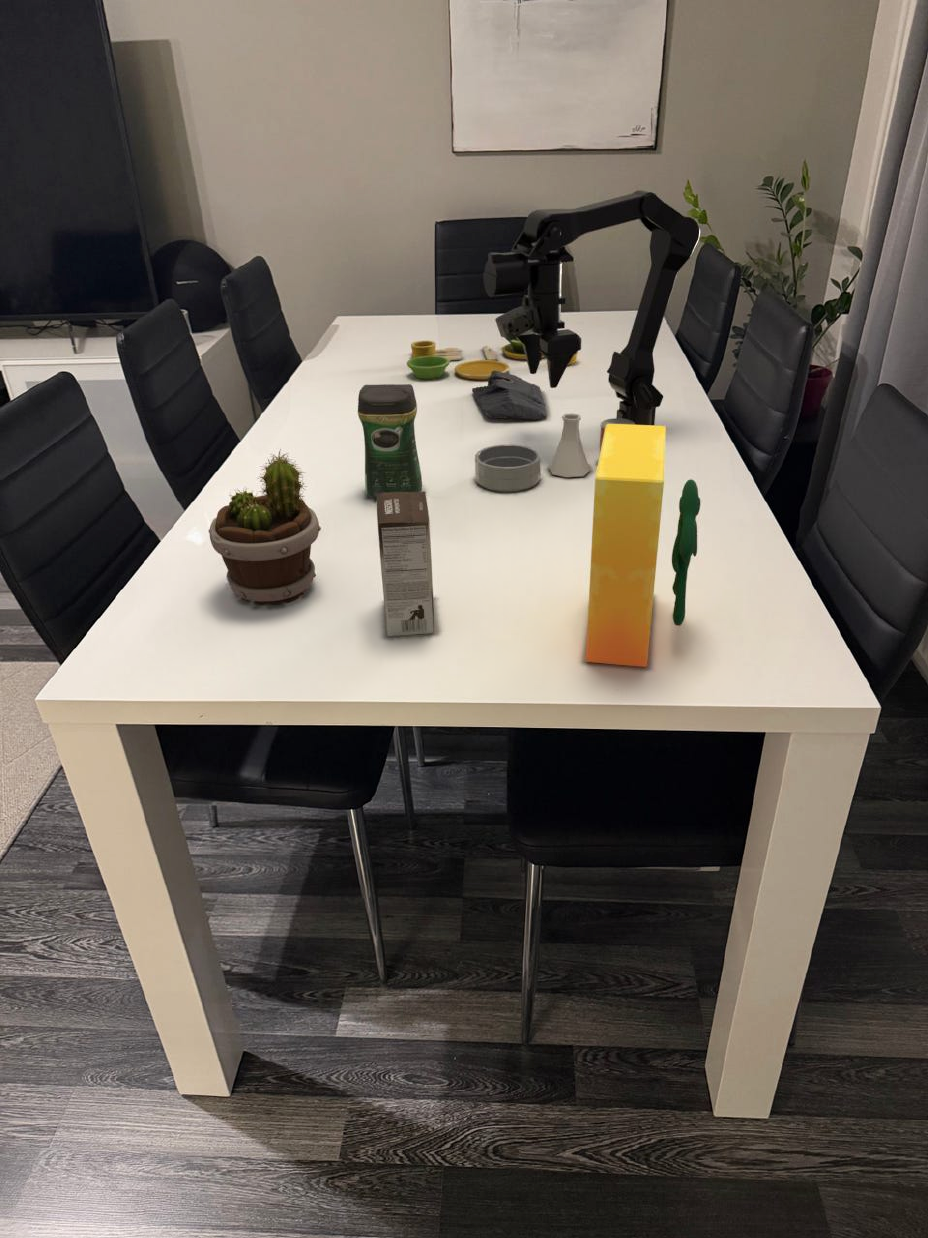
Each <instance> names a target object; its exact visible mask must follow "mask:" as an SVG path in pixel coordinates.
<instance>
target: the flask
mask: <svg viewBox="0 0 928 1238" xmlns="http://www.w3.org/2000/svg"><path fill="white" fill-rule="evenodd" d="M581 418H582V417H581V415H580V414H578V413H574V412H573V413H564V414H563V415H561V419H562V421H563V425H562V426H563V427H562V432H561V436H560V440H559V442H558V445H557V447H556V451H555V453H554V455H553V458H552V459H551V463H550V465H549V467H548V468H549V469H548V470H549V471H550V474H551V475H554V476H559V477H564V478H574V477H575V478H576V477H584V476H585V475H586V474H588V473H589V472H590V471H591V469H590V465H589V463H588V460H587V456H586V453H585V451H584V447H583V444H582V440H581V434H580V428H579V427H580V421H581Z"/></svg>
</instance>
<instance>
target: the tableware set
mask: <svg viewBox="0 0 928 1238" xmlns="http://www.w3.org/2000/svg"><path fill="white" fill-rule="evenodd" d="M436 345H437V343H436V342H435V341H433V340H418V341H414V342H412V343H410V347H411V351H412V352H411V358H410V359H408V360H407V361H406V366H407V367H408V369H410V370H411V371H412V374H414V376H415V377H416V378H418V379H419V380H420V379H421V380H435V379H438V378H440V377H442V376H443V374H444V373H445V371H446V369H447V367H448V366H449V365H450V363H451V361H460V360H462V354H461V352H460V351H461V349H460V348H459V347H447V348H443V349H436ZM482 350H483V354H484V357H485V359H479V360H469V361H464V362H461V363H459V364H457V365H456V366H455V367H454V368H453V369H454V370H453V371H454V372H455V373H456V374H458V376H459V377H461V378H464V379H469V380H488V378H489V377H490V376H491V373H492V371H499V372H503V373H507V372H508V371H509V370H510V365H509V364H508V363H505V362H503V361H499V360H497V355H496V353H495V352H494V351H491V350H490V347H489V345H484V346H483V347H482ZM501 351H502V352H503V354H505V356H507V357H508V358H511V359H516V360H526V356H525V352H524V349H523V345H522V343H521V342H520V341H519V340H518V339H517V338H516V339H514V340H511V341H508V344H505V345H504V346H502V347H501ZM578 353H579V351H577V354H574V355H573V357H572V359H571V361H570V362H569V364H568V365H573V364H575V363H576V362H577V358H578V355H579V354H578ZM543 358H545V357H544V356H543V355H542V356H541V359H543Z"/></svg>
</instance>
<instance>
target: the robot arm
mask: <svg viewBox="0 0 928 1238" xmlns="http://www.w3.org/2000/svg"><path fill="white" fill-rule="evenodd" d="M637 220H638V221H639V222H640V224H641V225H642V226H643V227H644V228H645V229H646V230H647V231H648V232H650V233H651V235H650V241H649V255H650V269H649V271H648V275H647V279H646V282H645V285H644V288H643V292H642V295H641V298H640V302H639V305H638V309H637V311H636V315H635V319H634V322H633V326H632V328H631V331H630V334H629V338H628V342H627V344H626V346H625V347H624V348H623V349H622V350H621V351H620V352H617V351H614V352H613V353H612V356H611V361H610V365H609V367H608V369H607V370H606V373H607V374H608V378H607V379H608V383H609V386H610V387H611V389H612V390H614V392H615V396H616V398H617V399H620V401H619V403H618V404H619V405H618V406H619V407H618V409H617V410H616V417H615V418H621V419H627V420H631V421H633V422H634V423H635V425H654V426H655V423H656V422H655V421H656V411H657V408H659V407H660V406H661V404H662V401H663V399H664V395H663V394H662V393H661V391H659V389H658V388H657V387H655V385H654V384H653V382H654V377H655V372H656V371H655V369H656V368H655V360H654V349H655V347H656V343H657V340H658V337H659V333H660V330H661V327H662V324H663V320H664V318H665V314H666V312H667V307H668V305H669V301H670V298H671V295H672V292H673V290H674V286H675V283H676V279H677V276H678V273H679V272H680V270H681V269H682V268H683V267H684V265H685V264H686V263H687V262H688V261H689V260H690V259H691V257H692V255H693V253H694V250H695V249H696V246H697V244H698V242H699V240H700V236H701V228H700V226H699V224H698V222H697V221H696V219H694V218H692V217H691V216H687V215H682V214H681V212H679V211H678V210H676V209H674V207H672V206H670V205H669V204H668V203H666V202H664V201H663V200H662V199H661V198H660V197H659V196H658V195H657V194H656V193H654V192H652V191H647V190H643V189H640V190H635V191H634V192H632V193H628V194H625V195H621V196H617V197H614V198H610V199H606V200H601V201H598V202H595V203H590V204H587V205H584V206H579V207H575V208H543V209H541V208H540V209H536V210H533V211H531V212H530V213H529V214H528V215H527V218H526V220H525V222H524V225H523V229H522V231H521V233H520V234H519V236H518V238H517V240H516V241H515V242H514V244H513V246H512V248H511V250H510V252H489V253H488V254H487V255H488V257H487V258H488V259H487V261H486V263H485V265H484V271H483V273H482V277H483V279H482V280H483V286H484V290H485V292H486V294H487V296H489V297H490V298H491V297H501V296H508V295H509V296H510V295H519V294H523V293H524V292H525V290H527V295H526V294H525V295H523V298H522V300H521V305H520V306H518V307H515V308H512V309H511V310H508V311H507V312H505V313H503V314H501V315H499V316H497V317H496V318H495V319H494V320H495V324H496V327H497V329H498V332H499V334H500V337H501V338H504V339H505V340H506V341H508V342H509V341H511V340H514V339H516V338H517V339H518V340H519V341H520V342H521V343H522V345H523V349H524V352H525V356H526V359H525V360H526V363H527V367H528V370H529V373H530V375H535V374H537V372H538V369H539V367H540V362H541V359H542V358H541V356H542V355H543V356H544V357H543V358H545V359H546V363H547V372H548V381H549V388H551V389H557V387H558V385H559V384H560V381H561V379H562V377H563V375H564V373H565V371H566V369H567V368H568V366H569V365H570V364H569V362H570V361H571V359H572V357H573V355H574V354H577V351H578V352H579V351H581V350H582V337H581V336H580V335H579V334H578V333H577V332H574V331H573V330H571V329H568V328H567V329H565V326H566V324H565V321H563V320H562V319H561V317H562V315H561V314H562V305H566V297H565V296H563V295H562V278H563V277H562V275H563V264H564V263H572V262H574V261H575V257H574V256H573V255H572V254H570V252H569V251H568V250H567V248H566V246H568V245H570V244H572V243H574V242H575V241H576V240H577V239H579V238H580V237H582V236H584V235H587V234H589V233H592V232H596V231H600V230H604V229H607V228H611V227H615V226H618V225H622V224H625V223H629V222H633V221H637ZM532 246H533V247H532ZM577 355H578V354H577Z"/></svg>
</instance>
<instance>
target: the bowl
mask: <svg viewBox="0 0 928 1238" xmlns="http://www.w3.org/2000/svg"><path fill="white" fill-rule="evenodd" d="M541 459H542V458H541V453H540V451H538V450H537V449H535V448H533V447H531V446H526V445H522V444H510V443H507V444H496V445H491V446H487V447H483V448H481V449H480V450H477V451H476V453H475V454H474V473H475V481H476V483H477V484H478V485H479V486H481V487H483V488H484V489H486V490H490V491H493V492H498V493H499V492H500V493H513V492H514V493H515V492H522V491H526V490H528V489H531V488H533V487H534V486H535V485H537V484H538V483H539V482H540V480H541V462H542V461H541Z"/></svg>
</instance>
